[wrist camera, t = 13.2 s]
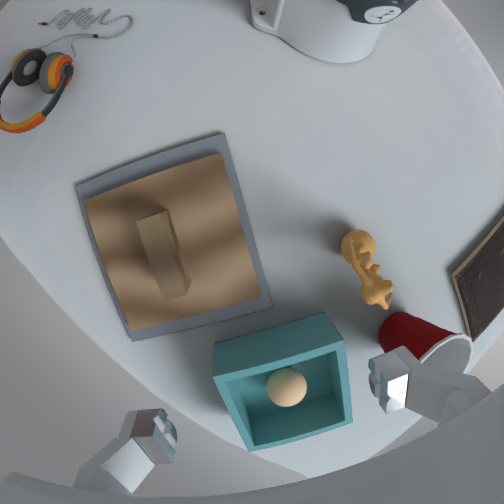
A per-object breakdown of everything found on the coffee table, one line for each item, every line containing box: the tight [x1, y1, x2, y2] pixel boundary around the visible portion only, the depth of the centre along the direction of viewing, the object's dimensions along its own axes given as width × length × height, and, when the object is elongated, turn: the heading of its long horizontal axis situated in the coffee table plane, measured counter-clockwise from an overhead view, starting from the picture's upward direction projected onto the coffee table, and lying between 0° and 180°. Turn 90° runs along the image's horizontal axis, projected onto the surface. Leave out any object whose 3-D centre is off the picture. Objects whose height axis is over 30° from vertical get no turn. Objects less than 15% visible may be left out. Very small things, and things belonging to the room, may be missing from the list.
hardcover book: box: [451, 216, 504, 342], centre depth 36 cm, size 16×23×2 cm
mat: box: [76, 133, 272, 342], centre depth 31 cm, size 20×18×1 cm
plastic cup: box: [379, 312, 473, 409], centre depth 31 cm, size 11×11×12 cm
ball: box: [266, 368, 307, 407], centre depth 33 cm, size 5×5×5 cm
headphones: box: [0, 8, 134, 133], centre depth 23 cm, size 17×5×20 cm
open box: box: [213, 312, 353, 452], centre depth 33 cm, size 14×14×7 cm
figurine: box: [341, 230, 394, 310], centre depth 28 cm, size 8×6×12 cm
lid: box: [84, 153, 262, 331], centre depth 29 cm, size 16×16×5 cm
